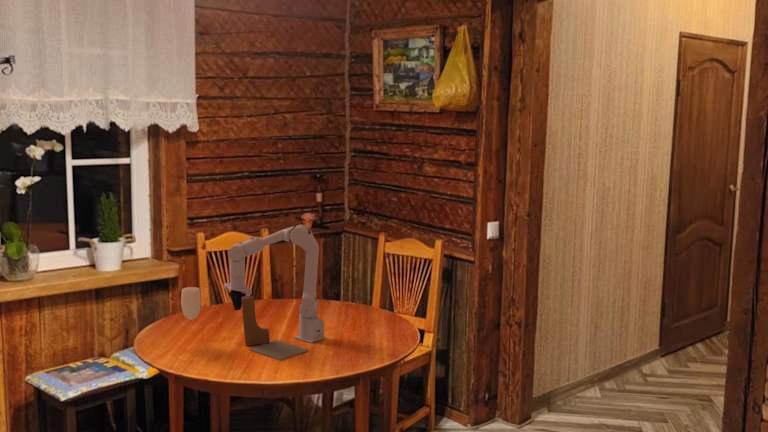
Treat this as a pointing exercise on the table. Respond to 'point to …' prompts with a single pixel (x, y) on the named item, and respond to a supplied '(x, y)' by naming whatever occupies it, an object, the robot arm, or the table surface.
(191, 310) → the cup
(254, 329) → the wooden block
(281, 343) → the mat
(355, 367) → the table surface
